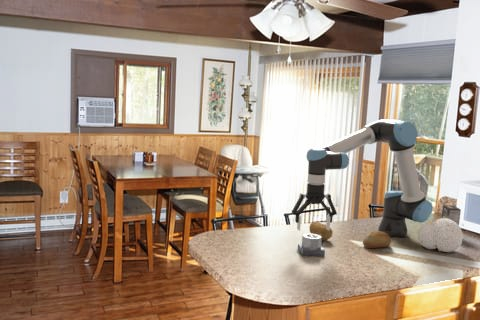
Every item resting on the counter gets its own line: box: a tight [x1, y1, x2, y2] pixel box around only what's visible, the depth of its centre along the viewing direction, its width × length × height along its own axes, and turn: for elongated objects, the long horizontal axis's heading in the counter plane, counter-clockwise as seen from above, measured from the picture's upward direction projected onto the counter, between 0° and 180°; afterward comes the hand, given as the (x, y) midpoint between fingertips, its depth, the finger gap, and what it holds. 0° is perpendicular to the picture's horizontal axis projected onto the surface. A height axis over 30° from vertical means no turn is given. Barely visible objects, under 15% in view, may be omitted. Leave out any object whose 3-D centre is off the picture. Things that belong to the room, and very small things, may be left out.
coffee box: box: [441, 204, 462, 226], centre depth 255 cm, size 9×6×16 cm
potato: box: [309, 221, 334, 241], centre depth 237 cm, size 10×14×8 cm
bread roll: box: [362, 230, 392, 249], centre depth 229 cm, size 10×15×8 cm, turn 113°
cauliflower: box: [417, 217, 464, 254], centre depth 229 cm, size 20×18×16 cm
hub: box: [301, 233, 323, 250], centre depth 214 cm, size 8×8×5 cm
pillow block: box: [297, 235, 326, 258], centre depth 215 cm, size 10×9×8 cm
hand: (313, 229), depth 214 cm, fingers open, 13 cm apart
